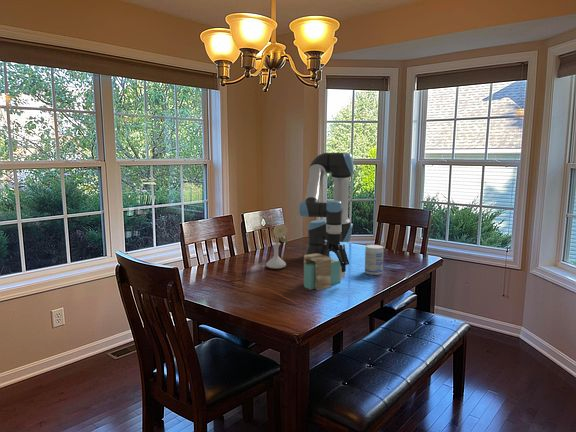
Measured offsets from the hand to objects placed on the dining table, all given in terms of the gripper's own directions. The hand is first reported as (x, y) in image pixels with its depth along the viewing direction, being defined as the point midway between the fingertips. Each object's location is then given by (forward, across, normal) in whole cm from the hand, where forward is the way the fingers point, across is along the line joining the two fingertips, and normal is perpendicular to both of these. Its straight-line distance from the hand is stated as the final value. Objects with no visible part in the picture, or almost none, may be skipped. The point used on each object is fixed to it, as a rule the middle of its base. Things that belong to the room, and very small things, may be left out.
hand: (332, 274), depth 207 cm
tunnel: (+4, 0, -10) cm, 11 cm away
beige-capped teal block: (+4, 0, -6) cm, 8 cm away
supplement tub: (+4, -1, +30) cm, 30 cm away
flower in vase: (+4, -39, -7) cm, 40 cm away
